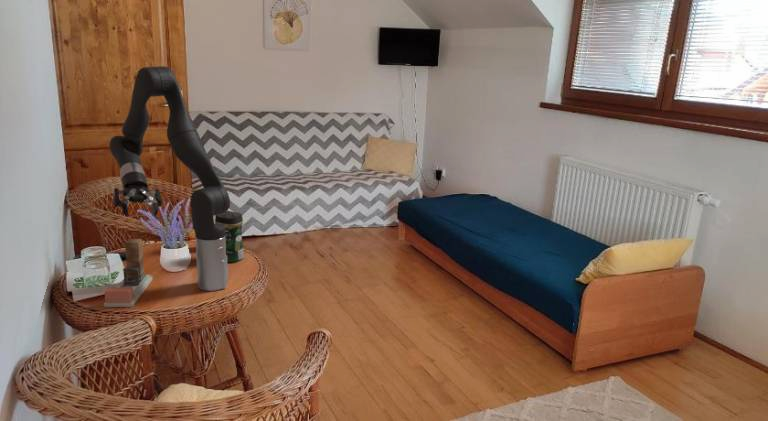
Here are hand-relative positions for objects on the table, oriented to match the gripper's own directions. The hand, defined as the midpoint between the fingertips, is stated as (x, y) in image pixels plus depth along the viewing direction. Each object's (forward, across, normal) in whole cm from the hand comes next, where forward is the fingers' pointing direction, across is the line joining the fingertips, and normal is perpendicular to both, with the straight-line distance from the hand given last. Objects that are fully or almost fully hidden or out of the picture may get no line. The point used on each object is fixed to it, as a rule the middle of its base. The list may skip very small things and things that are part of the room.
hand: (141, 214), depth 175 cm
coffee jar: (+3, +34, +22) cm, 41 cm away
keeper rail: (+17, -3, +18) cm, 25 cm away
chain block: (+12, -1, +19) cm, 22 cm away
